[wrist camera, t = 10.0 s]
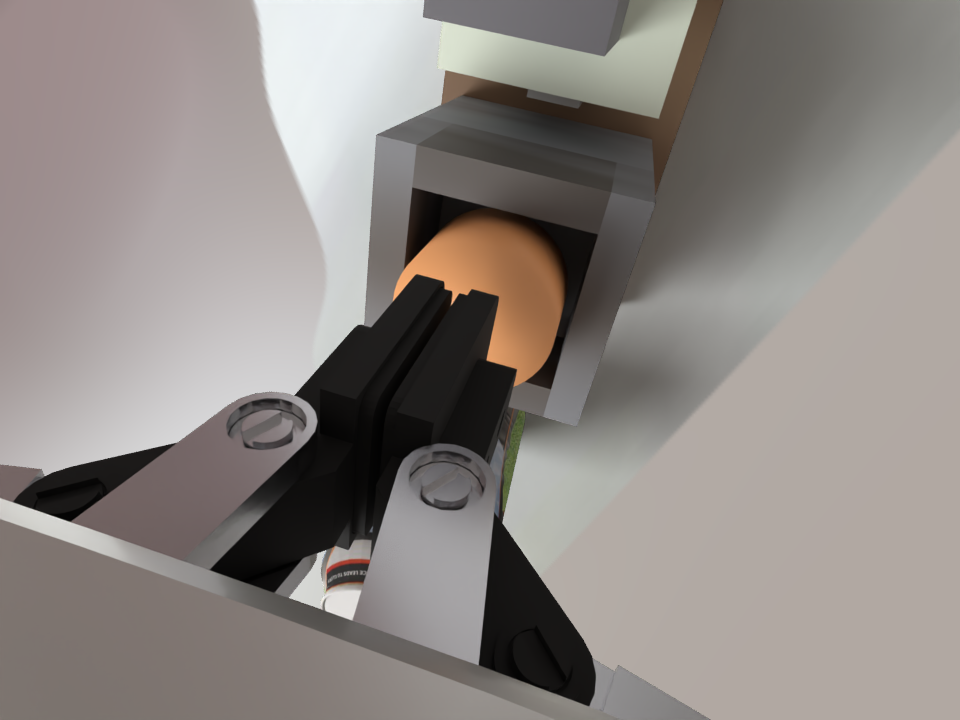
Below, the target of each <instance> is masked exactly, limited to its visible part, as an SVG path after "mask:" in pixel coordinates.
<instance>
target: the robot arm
mask: <svg viewBox="0 0 960 720" xmlns="http://www.w3.org/2000/svg"><path fill="white" fill-rule="evenodd" d="M452 296H453V295H452V291H450V290H447V289H445V283H444V281H441V280H437V279H434V278H430V277H426V276H423V275H419V274H416V275H415V276H414V277H413V278H412V279H411V280H410V282H409V283H408V284H407V285H406V286H405V288H404V289H403V290H402V291H401V292H400V294H399V295H398V296H397V297H396V298H395V300H394V301H393V302H392V303H391V304H390V306H389V307H388V308H387V309H386V310H385V312H384V313H383V314H382V315H381V316H380V317H379V319H378V320H377V321H376V322H375V323H374V325H373V326H372V327H368V326H364V325H358V326H356V327H355V328H354V329H353V330H352V331H351V332H350V333H349V335H348V336H347V337H346V338H345V339H344V340H343V341H342V342H341V344H340V345H339V346H338V347H337V348H336V349H335V350H334V351H333V353H332V354H331V355H330V356H329V357H328V358H327V359H326V360H325V362H324V363H323V364H322V365H321V366H320V367H319V368H318V369H317V371H316V372H315V373H314V374H313V375H312V376H311V377H310V379H309V380H308V381H307V382H306V383H305V384H304V385H303V386H302V388H301V389H300V390H299V391H298V392H297V393H296V394H295V395H294V396H293V395H290V394H287V393H279V392H265V393H255V394H252V395H249V396H246V397H243V398H240V399H238V400H236V401H235V402H233V403H231V404H229V405H228V406H227V407H225V408H224V409H222V410H221V411H220V412H218V413H217V414H216V415H214V416H213V417H212V418H210V419H209V420H208V421H206V422H205V423H204V424H202V425H201V426H199V427H198V428H197V429H196V430H194V431H193V432H191V433H190V434H189V435H187V436H186V437H185V438H183V439H182V440H181V441H179V442H178V443H174V444H169V445H165V446H161V447H156V448H152V449H148V450H143V451H139V452H134V453H130V454H125V455H121V456H117V457H112V458H108V459H104V460H99V461H95V462H90V463H86V464H81V465H77V466H73V467H69V468H66V469H63V470H60V471H57V472H53V473H51V474H49V475H47V476H44V474H43V471H42V469H34V468H26V467H17V466H9V465H0V720H710V719H709V718H707V717H705V716H704V715H701V714H700V713H699V712H697V711H695V710H693V709H692V708H690V707H688V706H687V705H685V704H683V703H682V702H680V701H678V700H677V699H675V698H673V697H671V696H670V695H668V694H666V693H665V692H663V691H661V690H660V689H658V688H656V687H655V686H653V685H651V684H649V683H648V682H646V681H644V680H643V679H641V678H639V677H638V676H636V675H634V674H632V673H631V672H629V671H628V670H626V669H624V668H622V667H621V666H619V665H618V667H617V668H616V670H615V671H613V670H611V669H609V668H608V667H606V666H605V665H603V664H601V663H599V662H598V661H596V660H594V659H593V658H592V655H591V653H590V652H589V650H588V648H587V646H586V644H585V642H584V640H583V639H582V637H581V636H580V634H579V633H578V631H577V630H576V629H575V627H574V625H573V624H572V623H571V621H570V620H569V618H568V617H567V616H566V614H565V613H564V611H563V610H562V608H561V607H560V605H559V604H558V603H557V601H556V600H555V598H554V597H553V595H552V594H551V593H550V591H549V590H548V588H547V587H546V585H545V584H544V583H543V581H542V580H541V578H540V577H539V575H538V574H537V572H536V571H535V570H534V568H533V567H532V565H531V564H530V562H529V561H528V559H527V558H526V557H525V555H524V554H523V552H522V551H521V549H520V548H519V547H518V545H517V544H516V542H515V541H514V539H513V538H512V537H511V535H510V534H509V532H508V531H507V529H506V528H505V526H504V525H503V524H502V522H501V521H500V519H499V518H498V516H497V515H496V514H495V512H494V508H495V499H496V489H497V488H496V478H495V475H494V473H493V471H492V469H491V467H490V463H491V460H492V457H493V454H494V451H495V448H496V445H497V443H498V439H499V436H500V433H501V430H502V427H503V423H504V420H505V417H506V413H507V409H508V406H509V402H510V398H511V394H512V390H513V386H514V382H515V378H516V374H517V369H515V368H511V367H508V366H504V365H501V364H497V363H494V362H490V361H487V355H488V350H489V346H490V341H491V336H492V331H493V327H494V322H495V317H496V312H497V308H498V302H499V296H496V295H493V294H489V293H485V292H482V291H478V290H474V289H471V290H470V292H469V294H468V295H465V294H461V293H459V294H458V296H457V297H456V299H455V300H454V302H453V304H452V305H451V303H452ZM372 526H373V530H372V541H371V553H370V564H369V567H368V571H367V574H366V577H365V580H364V584H363V587H362V590H361V594H360V597H359V600H358V603H357V607H356V610H355V613H354V617H353V620H349V619H346V618H344V617H341V616H338V615H335V614H332V613H330V612H327V611H324V610H321V609H318V608H315V607H313V606H310V605H307V604H304V603H301V602H298V601H295V600H293V599H290V598H289V597H290V595H291V594H292V593H293V591H294V590H295V589H296V588H297V587H298V585H299V584H300V583H301V582H302V580H303V579H304V578H305V576H306V575H307V574H308V573H309V571H310V570H311V568H312V567H313V565H314V563H315V561H316V558H317V553H319V552H322V551H325V550H328V549H330V548H333V547H334V546H337V547H340V548H343V549H346V550H349V549H350V547H351V545H352V543H353V541H354V540H355V538H356V536H357V534H362V535H365V536H366V535H368V533H369V532H370V530H371V528H372Z"/></svg>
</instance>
